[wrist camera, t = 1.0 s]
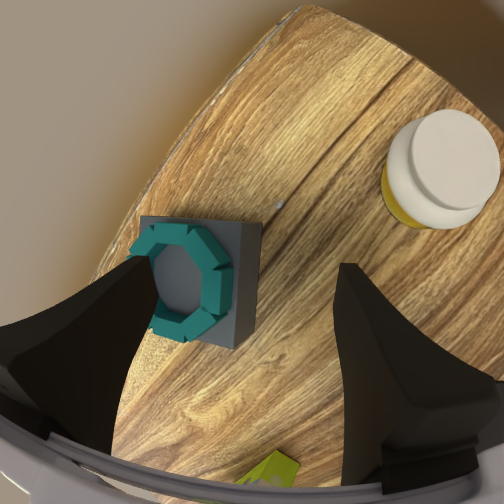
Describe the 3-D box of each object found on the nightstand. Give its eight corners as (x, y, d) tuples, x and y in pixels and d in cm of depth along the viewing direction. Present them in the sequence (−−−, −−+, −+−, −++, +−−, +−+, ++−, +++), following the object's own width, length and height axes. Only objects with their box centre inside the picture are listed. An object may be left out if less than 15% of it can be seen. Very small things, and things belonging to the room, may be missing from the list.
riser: (254, 332, 27) (233, 349, 23) (166, 311, 31) (138, 322, 27) (262, 223, 26) (242, 222, 22) (169, 216, 30) (140, 215, 26)
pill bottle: (389, 235, 22) (409, 242, 12) (371, 157, 22) (373, 101, 12) (460, 222, 20) (527, 218, 9) (442, 145, 20) (489, 87, 9)
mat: (509, 454, 17) (510, 456, 17) (440, 459, 21) (440, 461, 20) (546, 379, 16) (548, 381, 16) (475, 381, 20) (477, 382, 19)
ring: (229, 344, 23) (217, 353, 21) (141, 319, 27) (127, 324, 25) (236, 227, 22) (224, 227, 20) (143, 220, 26) (127, 220, 24)
